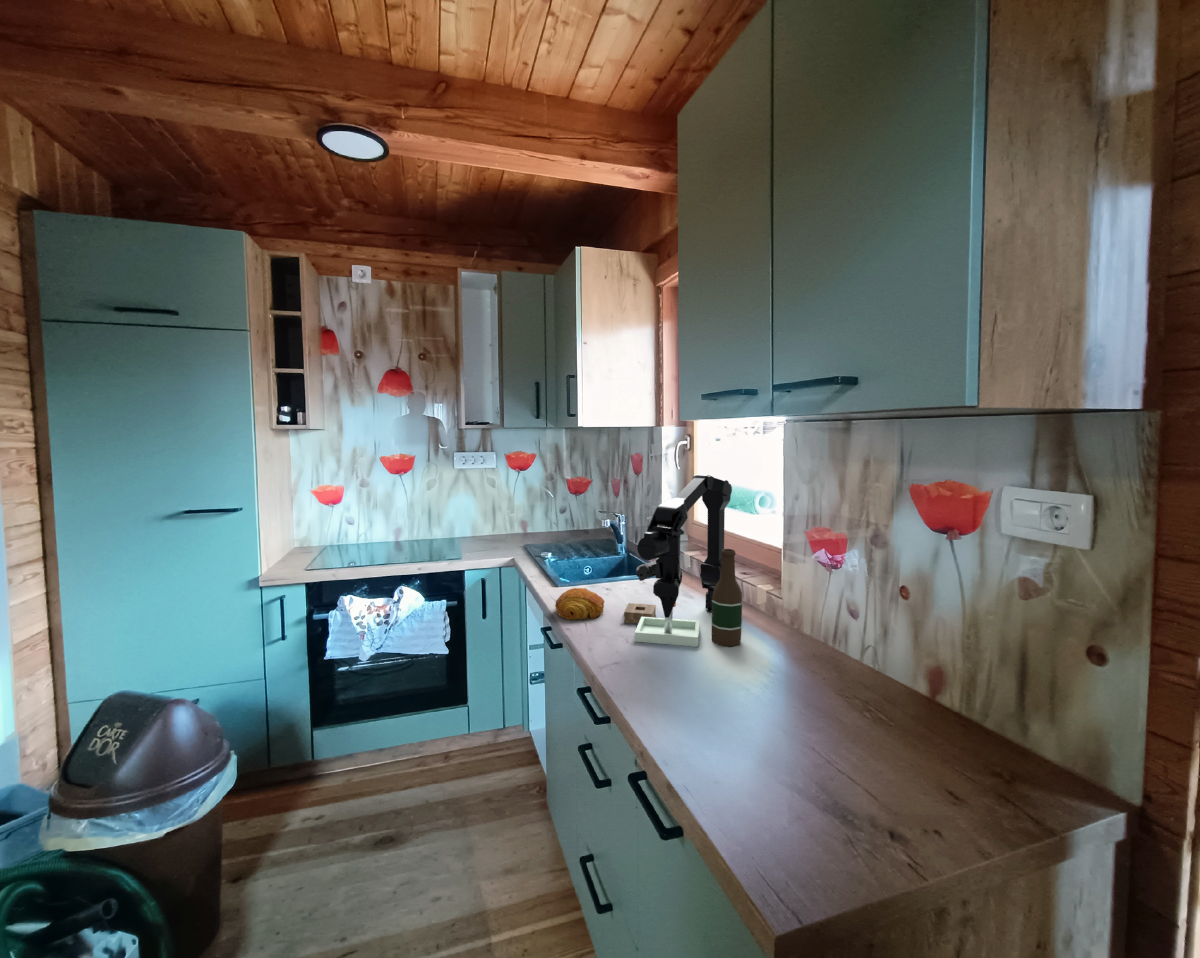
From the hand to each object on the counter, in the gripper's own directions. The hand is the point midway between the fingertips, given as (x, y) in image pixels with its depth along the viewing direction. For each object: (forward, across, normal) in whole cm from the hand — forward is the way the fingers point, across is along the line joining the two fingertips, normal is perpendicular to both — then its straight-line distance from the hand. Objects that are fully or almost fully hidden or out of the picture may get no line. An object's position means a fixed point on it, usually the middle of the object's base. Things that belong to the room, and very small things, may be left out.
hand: (668, 611), depth 142 cm
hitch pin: (+6, 0, 0) cm, 6 cm away
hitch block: (+6, -11, -9) cm, 16 cm away
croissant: (+7, -12, -27) cm, 31 cm away
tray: (+6, 0, 0) cm, 6 cm away
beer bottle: (+7, +1, +15) cm, 16 cm away
